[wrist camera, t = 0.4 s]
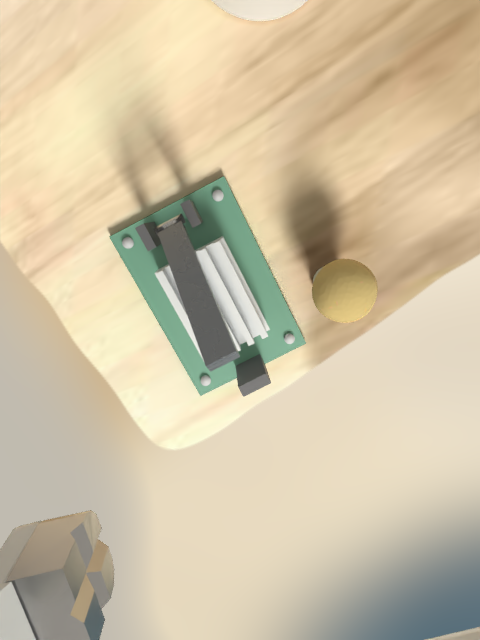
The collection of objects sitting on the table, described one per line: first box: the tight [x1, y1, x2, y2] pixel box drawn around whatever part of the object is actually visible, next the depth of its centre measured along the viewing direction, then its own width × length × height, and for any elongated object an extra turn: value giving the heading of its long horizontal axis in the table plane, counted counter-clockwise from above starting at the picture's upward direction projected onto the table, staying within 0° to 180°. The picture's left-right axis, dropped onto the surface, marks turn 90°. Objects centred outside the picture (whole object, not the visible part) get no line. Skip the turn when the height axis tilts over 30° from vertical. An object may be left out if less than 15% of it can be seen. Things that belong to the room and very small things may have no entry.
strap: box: [153, 214, 240, 372], centre depth 38 cm, size 17×3×1 cm
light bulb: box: [312, 259, 378, 323], centre depth 47 cm, size 6×6×10 cm
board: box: [110, 176, 306, 396], centre depth 47 cm, size 21×14×8 cm, turn 27°
